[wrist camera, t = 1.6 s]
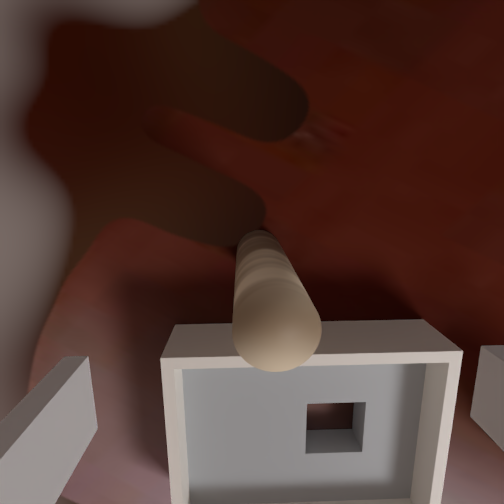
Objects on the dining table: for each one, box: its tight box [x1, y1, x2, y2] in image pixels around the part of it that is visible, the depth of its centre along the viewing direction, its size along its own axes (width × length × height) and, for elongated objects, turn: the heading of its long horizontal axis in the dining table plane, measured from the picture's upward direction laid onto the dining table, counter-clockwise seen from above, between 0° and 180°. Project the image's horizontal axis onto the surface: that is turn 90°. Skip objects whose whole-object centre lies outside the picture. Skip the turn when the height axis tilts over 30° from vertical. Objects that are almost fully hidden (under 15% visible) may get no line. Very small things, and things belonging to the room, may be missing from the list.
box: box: [160, 319, 463, 504], centre depth 31 cm, size 19×24×6 cm
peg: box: [232, 230, 322, 372], centre depth 23 cm, size 4×4×16 cm
